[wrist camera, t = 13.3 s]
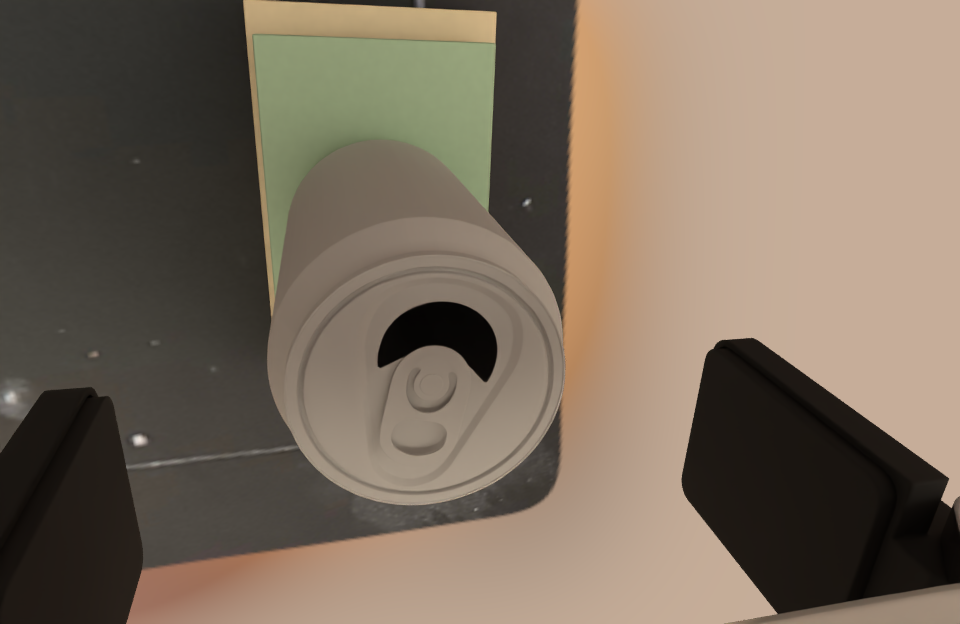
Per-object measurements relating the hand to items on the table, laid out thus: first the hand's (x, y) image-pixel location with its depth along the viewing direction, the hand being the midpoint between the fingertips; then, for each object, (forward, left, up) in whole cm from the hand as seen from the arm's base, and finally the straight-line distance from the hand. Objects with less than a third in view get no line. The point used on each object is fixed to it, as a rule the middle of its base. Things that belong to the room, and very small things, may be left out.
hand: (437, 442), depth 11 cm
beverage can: (+1, 0, -15) cm, 15 cm away
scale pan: (0, 0, -15) cm, 15 cm away
